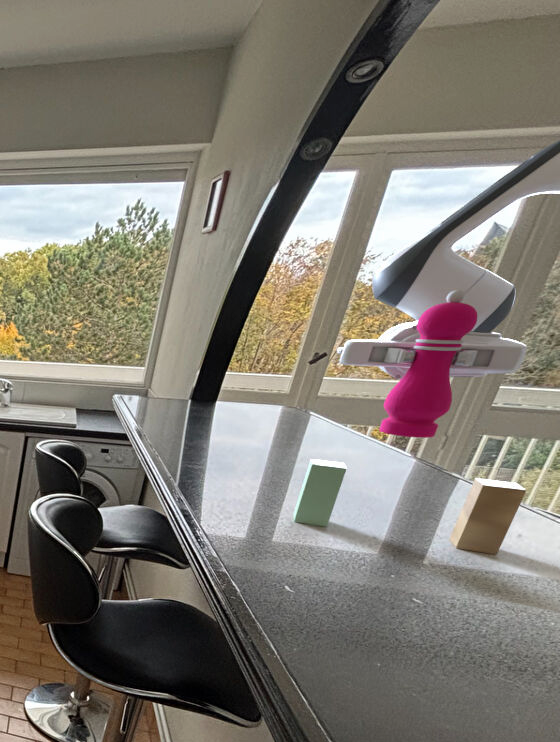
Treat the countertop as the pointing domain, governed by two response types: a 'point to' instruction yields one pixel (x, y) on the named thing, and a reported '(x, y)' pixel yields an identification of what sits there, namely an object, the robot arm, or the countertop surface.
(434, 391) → the pepper mill
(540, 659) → the countertop surface
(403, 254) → the robot arm
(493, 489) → the maple block
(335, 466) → the sage block
